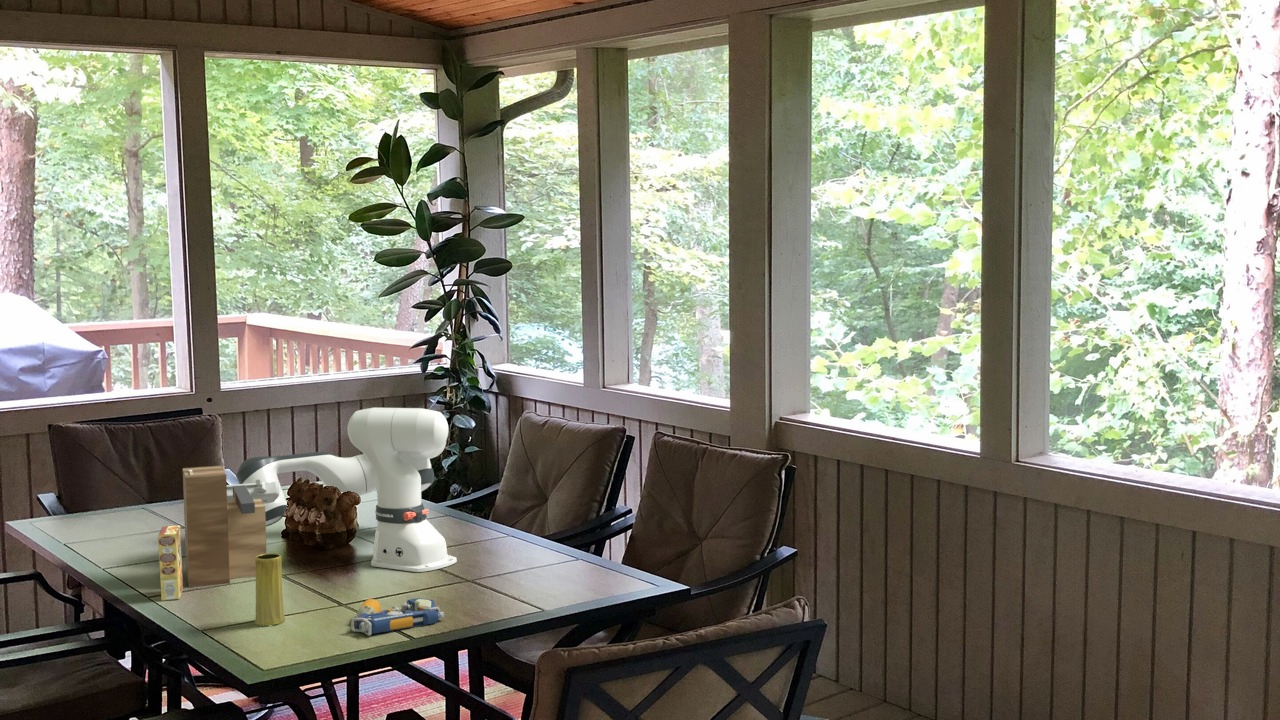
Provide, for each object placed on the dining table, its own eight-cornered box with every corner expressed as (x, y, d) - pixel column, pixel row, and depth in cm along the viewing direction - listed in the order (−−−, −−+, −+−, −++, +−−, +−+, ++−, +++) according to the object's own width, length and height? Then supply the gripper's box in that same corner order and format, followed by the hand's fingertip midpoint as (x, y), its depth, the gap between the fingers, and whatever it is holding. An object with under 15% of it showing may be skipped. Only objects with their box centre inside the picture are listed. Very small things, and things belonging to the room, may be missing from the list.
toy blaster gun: (332, 622, 259) (361, 641, 247) (332, 602, 259) (361, 620, 247) (422, 607, 271) (453, 625, 259) (422, 589, 271) (453, 606, 259)
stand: (186, 572, 299) (182, 467, 296) (262, 565, 306) (259, 461, 303) (189, 587, 286) (185, 476, 283) (269, 578, 293) (265, 471, 291)
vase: (288, 617, 262) (286, 552, 260) (280, 626, 256) (278, 559, 254) (259, 617, 261) (257, 552, 260) (251, 626, 255) (249, 559, 254)
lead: (232, 495, 308) (232, 486, 308) (245, 494, 310) (245, 485, 309) (241, 513, 286) (241, 503, 286) (255, 512, 288) (254, 502, 287)
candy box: (180, 599, 275) (177, 533, 274) (160, 601, 274) (157, 534, 273) (183, 589, 284) (181, 524, 283) (164, 590, 283) (161, 526, 281)
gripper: (278, 510, 320) (283, 492, 309) (196, 517, 312) (198, 499, 301) (276, 487, 323) (281, 469, 311) (194, 493, 315) (196, 475, 303)
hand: (239, 483), depth 306 cm, fingers open, 8 cm apart
